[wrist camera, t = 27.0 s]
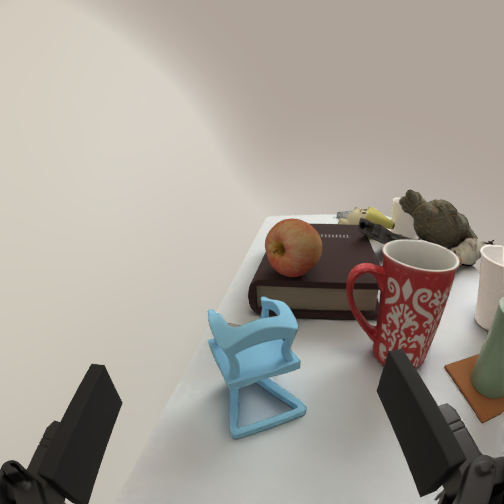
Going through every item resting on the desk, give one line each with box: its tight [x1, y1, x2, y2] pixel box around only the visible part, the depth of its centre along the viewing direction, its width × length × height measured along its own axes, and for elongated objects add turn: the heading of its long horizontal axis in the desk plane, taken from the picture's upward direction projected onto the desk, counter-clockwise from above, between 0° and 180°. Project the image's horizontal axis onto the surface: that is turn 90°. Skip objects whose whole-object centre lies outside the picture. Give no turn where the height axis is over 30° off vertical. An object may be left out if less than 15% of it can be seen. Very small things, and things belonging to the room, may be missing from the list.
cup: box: [475, 245, 504, 330], centre depth 32 cm, size 10×10×11 cm
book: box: [248, 224, 380, 320], centre depth 53 cm, size 28×20×6 cm
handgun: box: [357, 218, 415, 244], centre depth 56 cm, size 3×19×12 cm
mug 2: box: [346, 240, 460, 368], centre depth 30 cm, size 13×9×14 cm
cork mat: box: [445, 354, 504, 423], centre depth 23 cm, size 10×10×1 cm
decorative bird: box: [450, 237, 494, 266], centre depth 53 cm, size 5×16×7 cm
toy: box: [338, 207, 395, 229], centre depth 73 cm, size 13×7×15 cm
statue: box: [399, 190, 478, 248], centre depth 56 cm, size 11×9×30 cm
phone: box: [337, 211, 352, 219], centre depth 86 cm, size 8×16×1 cm, turn 10°
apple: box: [265, 219, 322, 277], centre depth 40 cm, size 8×8×8 cm
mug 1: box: [391, 198, 420, 240], centre depth 69 cm, size 12×9×9 cm
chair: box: [208, 297, 306, 439], centre depth 26 cm, size 8×8×12 cm
